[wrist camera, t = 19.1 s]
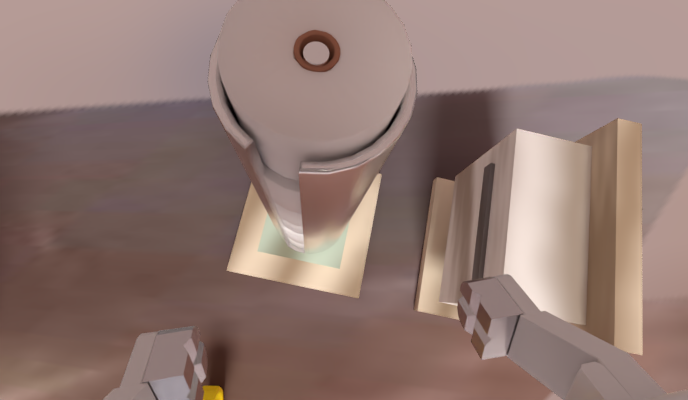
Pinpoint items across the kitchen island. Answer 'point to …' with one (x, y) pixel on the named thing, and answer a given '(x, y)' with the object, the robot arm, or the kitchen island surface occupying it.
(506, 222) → the mounted unit
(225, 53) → the white tall cylinder
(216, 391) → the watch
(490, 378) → the kitchen island surface
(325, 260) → the dock pad
